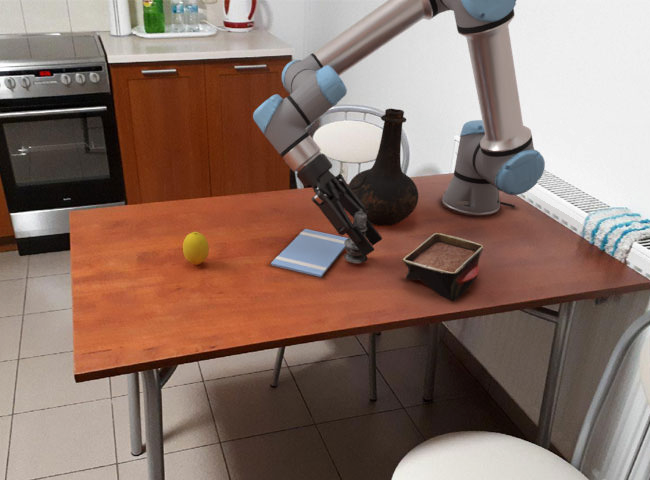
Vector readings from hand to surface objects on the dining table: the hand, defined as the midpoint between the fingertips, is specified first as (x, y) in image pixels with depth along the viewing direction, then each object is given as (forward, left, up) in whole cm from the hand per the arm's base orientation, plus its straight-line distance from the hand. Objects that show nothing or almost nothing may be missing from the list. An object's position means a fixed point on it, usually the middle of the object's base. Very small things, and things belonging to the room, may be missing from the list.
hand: (373, 247), depth 140 cm
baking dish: (-11, +11, -5) cm, 16 cm away
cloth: (+10, -10, -5) cm, 15 cm away
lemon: (+37, -12, -5) cm, 39 cm away
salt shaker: (+3, -3, -4) cm, 5 cm away
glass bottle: (-14, -22, -5) cm, 27 cm away
